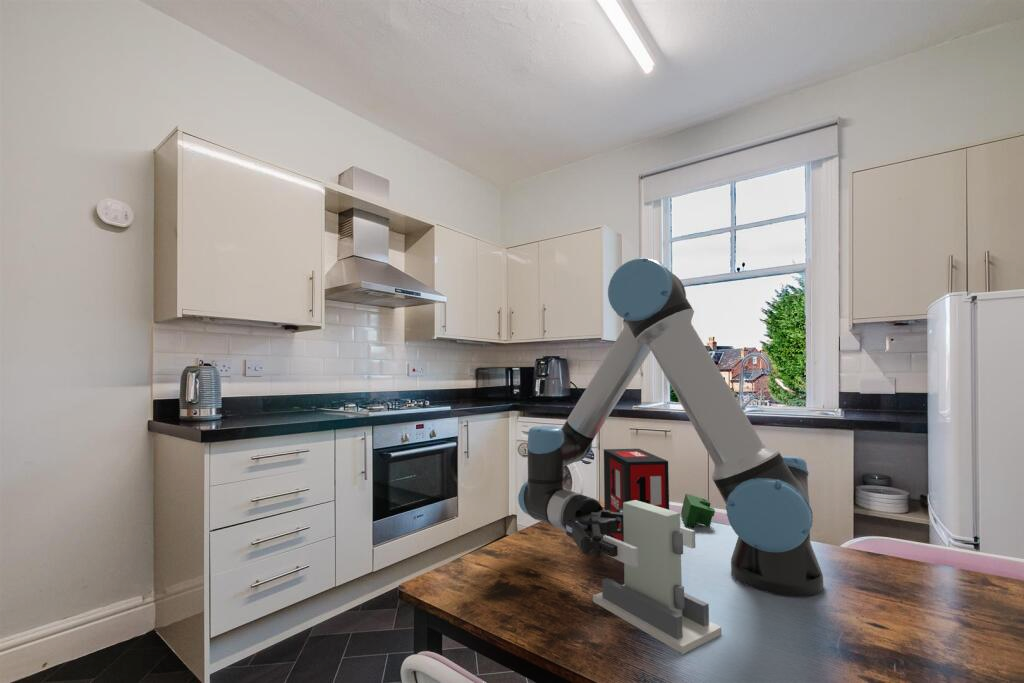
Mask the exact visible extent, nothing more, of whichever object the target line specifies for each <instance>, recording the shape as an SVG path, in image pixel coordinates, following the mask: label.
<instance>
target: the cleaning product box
mask: <svg viewBox="0 0 1024 683" xmlns="http://www.w3.org/2000/svg"><path fill="white" fill-rule="evenodd" d="M669 480H670V478H669V460H666V459H664V458H662V457H659V456H657V455H655V454H652V453H650V452H647V451H646V450H643V449H640V448H610V449H609V448H607V449H606V448H603V490H604V492H603V493H604V498H603V499H604V500H603V501H604V507H603V508H604V510H610V511H611V512H617V510H616V509H618V508H621V509H623V503H624V502H629V501H633V500H637V501H641V502H644V503H647V504H651V505H654V506H658V507H661V508H664V509H668V510H670V488H669V487H670V485H669V484H670V483H669ZM618 529H621V525H620V523H618ZM607 535H608V536H610V537H612V538H615V539H617V540H620V541H622V542H624V534H618V533H610V534H607Z"/></svg>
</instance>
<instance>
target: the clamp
mask: <svg viewBox="0 0 1024 683" xmlns="http://www.w3.org/2000/svg"><path fill="white" fill-rule="evenodd" d="M683 498H684V499H683V503H682V507H681V513H680V516H681V518H682V520H683V522H684V525H685V526H688V527H692V528H695V527H696V524H701V525H703V526H705V527H706V526H707V527H710V526H711V522H712V518H713V517H714V516H715V513H716V509H715V508H714V507H711V504H712V503H711V502H710V501H709V500H708V499H705V498H702V497H699V496H695V495H691V494H689V493H685V495H684V497H683Z"/></svg>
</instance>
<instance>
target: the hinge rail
mask: <svg viewBox="0 0 1024 683" xmlns="http://www.w3.org/2000/svg"><path fill="white" fill-rule="evenodd" d="M601 581H602V582H601V584H602V585H601V589H602V592H601V591H600V592H597V593H596V594H593V595H592V602H593V603H595V604H597V605H598V606H600V607H602V608H604V609H605V610H607V611H609V612H610V613H612V614H613V615H615V616H617V617H618V618H620V619H622V620H623V621H626V622H627V623H629V624H630V625H632V626H634V627H636V628H638V629H639V630H641V631H643V632H644V633H646V634H647V635H650V636H651V637H653V638H655V639H656V640H658V641H660V643H661V642H662V643H663V644H665V645H667V646H668V647H670V648H672V649H674V651H677V652H678V653H680V654H681V655H684V654H686V653H688V652H690V651H692V650H694V649H695V648H698V647H699V646H701V645H703V644H705V643H707V642H709V641H711V640H713V639H715V638H717V637H719V636H721V635H723V634H722V626H719V625H717V624H716V623H714V622H711V621H710V616H709V615H710V609H709V607H710V606H709V603H708V602H705V601H704V600H701V599H700V598H697V597H694V596H692V595H690V594H688V593H686V592H684V604H685V609H683V610H682V615H680V614H678V613H676V612H674V611H672V610H671V609H669V608H667V607H665V606H663V605H661V604H659V603H657V602H655V601H653V600H651V599H649V598H647V597H645V596H643V595H641V594H639V593H637V592H635V591H633V590H631V589H629V588H627V587H625V583H624V584H621V583H619V582H617V581H615V580H613V579H611V578H610V577H605V578H602V579H601Z"/></svg>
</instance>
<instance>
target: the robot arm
mask: <svg viewBox="0 0 1024 683" xmlns="http://www.w3.org/2000/svg"><path fill="white" fill-rule="evenodd" d="M607 298H608V302H609V304H610V306H611V308H612V310H613V311H614V312H615V313H616V315H618V316H619V317H620V318H622V319H623V320H622V321H621V322H622V325H623V329H622V330H621V332H620V334H619V335H618V337H617V339H616V340H615V341H614V343H613V345H612V346H611V347H610V350H609V351H608V352H607V354H606V356H605V357H604V359H603V361H602V362H601V364H600V365H599V367H598V369H597V370H596V372H595V373H594V375H593V377H592V378H591V380H590V382H589V383H588V384H587V386H586V388H585V389H584V392H583V393H582V395H581V396H580V397H579V399H578V400H577V403H576V404H575V406H574V408H573V409H572V410H571V413H570V414H569V415H568V417H567V418H566V421H565V422H564V424H563V426H562V427H559V426H555V425H554V426H551V425H539V426H532V427H530V428H529V429H528V432H527V434H528V435H527V443H526V448H527V480H526V482H524V483H523V485H522V486H520V491H519V493H518V496H517V500H518V504H519V508H520V509H521V511H522V512H523V513H524V514H527V515H528V516H530V518H532V519H534V520H537V521H540V522H543V523H545V524H548V525H551V526H553V527H554V528H556V529H559V530H561V531H563V532H564V533H565V535H566V536H568V537H569V538H571V539H572V540H573V541H574V543H575V545H576V546H577V547H578V549H579V550H580V552H581V553H582V554H583V555H590V554H591V551H593V558H595V559H601V558H602V554H603V555H605V556H608V557H610V558H612V559H615V560H617V561H618V562H621V563H623V564H624V563H625V564H627V565H630V566H632V567H634V568H635V567H638V548H637V547H635V546H632V545H630V544H627V543H625V542H622V541H620V540H617V539H615V538H612V537H610V536H607V535H606V534H610V533H618V534H624V524H623V509H621V508H618V509H616V510H617V512H611V511H610V510H605V509H604V507H602V505H601V503H600V502H599V501H598V500H597V499H596V498H593V497H590V496H587V495H583V494H581V493H578V492H574V491H572V490H569V489H566V488H564V467H566V466H568V465H571V464H574V463H578V462H580V461H582V460H585V458H586V457H587V456H588V455H589V454H590V453H591V451H592V447H593V442H594V440H595V438H596V436H598V433H599V432H600V430H601V428H602V427H603V426H604V424H605V422H606V420H608V418H609V416H610V414H611V413H612V411H614V409H615V407H616V405H617V403H618V402H619V400H620V399H621V397H622V396H623V395H624V393H625V391H626V390H627V388H628V387H629V385H630V384H631V381H633V379H634V377H635V376H636V375H637V373H638V371H639V370H640V369H641V366H643V364H644V362H645V361H646V358H648V356H649V354H650V353H651V352H652V354H653V356H654V358H655V360H656V362H657V363H658V365H659V367H660V369H661V371H662V372H663V374H664V376H665V378H666V380H667V381H668V383H669V385H670V387H671V389H672V390H673V392H674V394H675V395H676V397H677V399H678V401H679V403H680V404H681V406H682V409H683V410H684V412H685V413H686V414H685V415H686V416H687V418H688V419H689V421H690V423H691V424H692V426H693V428H694V430H695V432H696V434H697V435H698V437H699V439H700V440H701V442H702V444H703V446H704V448H705V450H706V451H707V453H708V454H709V458H711V460H712V462H713V464H714V469H713V473H712V476H711V479H712V481H713V483H714V485H715V486H716V488H717V491H718V492H719V493H720V495H721V497H722V500H723V501H724V503H725V511H726V516H727V518H728V519H727V520H728V522H729V524H730V527H731V528H732V530H733V531H734V533H735V534H736V535H737V540H736V543H735V547H734V549H733V552H732V554H731V557H730V558H731V559H730V560H731V561H730V570H731V572H730V573H731V574H732V576H733V578H735V579H736V580H738V581H739V582H741V583H743V584H744V585H746V586H748V587H750V588H753V589H755V590H758V591H762V592H764V593H769V594H773V595H778V596H783V597H794V598H795V597H796V598H797V597H800V598H802V597H812V596H816V595H819V594H820V593H822V592H823V590H824V574H823V572H822V569H821V566H820V564H819V562H818V559H817V556H816V553H815V551H814V549H813V545H812V542H811V535H810V534H811V532H810V531H811V529H812V527H813V517H814V516H813V510H812V507H811V504H810V503H811V502H810V497H809V480H808V477H809V473H810V472H809V470H808V467H807V466H808V465H807V462H806V461H805V459H803V458H802V457H799V456H789V455H781V453H780V451H779V450H778V449H776V448H773V447H771V446H767V445H765V444H764V443H763V441H762V440H761V438H760V436H759V435H758V433H757V431H756V430H755V427H753V424H752V423H751V421H750V419H749V418H748V417H747V414H746V413H745V412H744V410H743V408H742V406H741V404H740V403H739V401H738V399H737V398H736V396H735V394H734V393H733V391H732V390H731V387H730V386H729V385H728V383H727V381H726V380H725V378H724V377H723V374H722V373H721V371H720V368H718V366H717V364H716V363H715V360H714V359H713V357H712V356H711V354H710V352H709V351H708V349H707V348H706V346H705V344H704V343H703V341H702V339H701V338H700V335H699V334H698V332H697V331H696V328H694V326H693V324H692V321H693V320H692V319H693V316H694V313H695V310H694V308H693V307H692V305H691V303H690V302H689V300H688V299H687V293H686V289H685V286H684V284H683V282H682V281H681V279H680V278H679V277H678V276H677V275H676V274H674V273H672V272H671V271H670V270H669V269H668V267H667V266H666V265H665V264H664V263H662V262H660V261H658V260H655V259H651V258H647V257H645V258H644V257H638V258H634V259H631V260H628V261H626V262H624V263H623V264H622V265H621V266H619V267H618V268H617V269H616V271H615V272H614V273H613V274H612V276H611V277H610V280H609V284H608V288H607ZM618 523H620V525H621V529H618ZM680 532H682V533H683V547H684V546H685V547H687V548H690V549H696V530H694V529H691V528H688V527H685V526H681V525H680ZM602 535H603V536H602Z"/></svg>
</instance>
